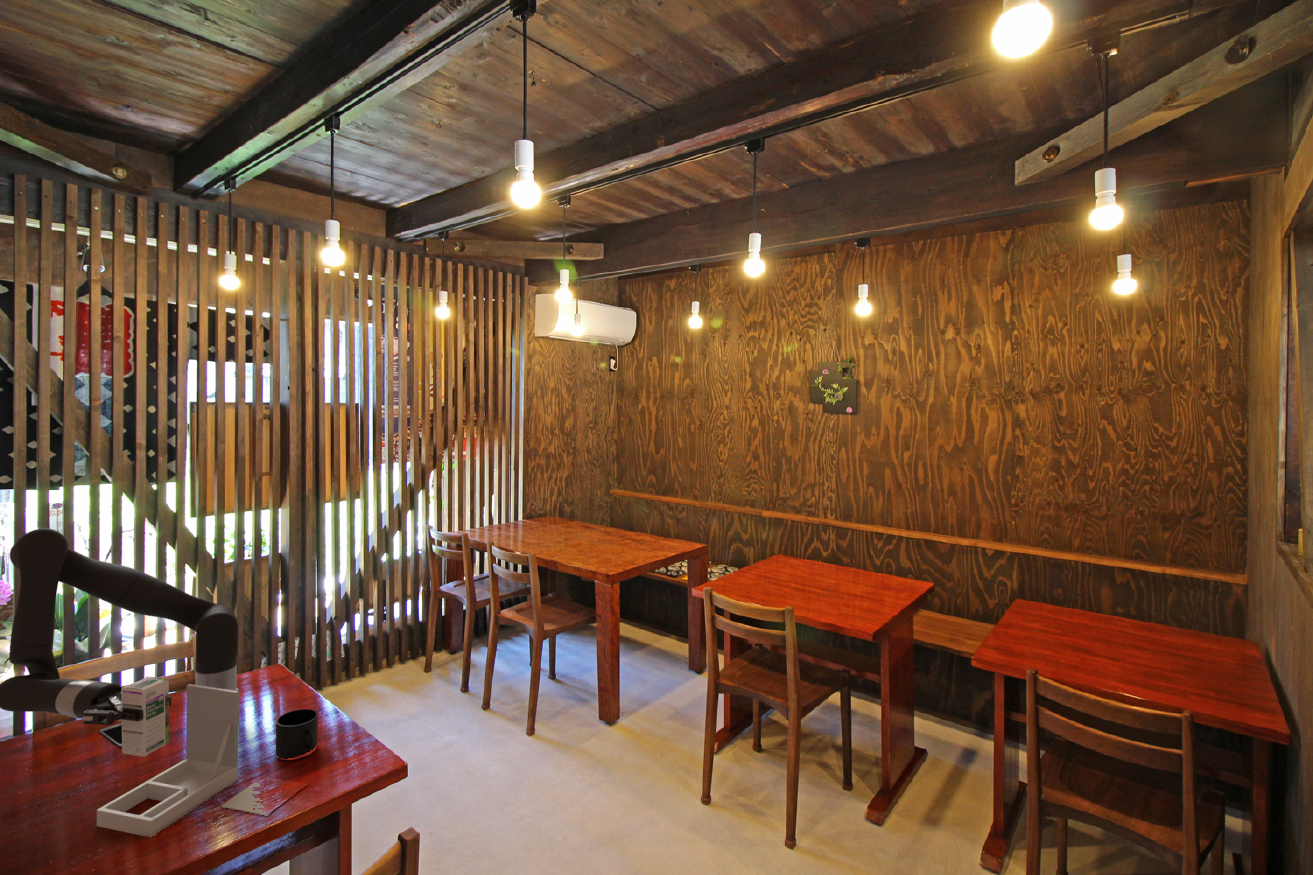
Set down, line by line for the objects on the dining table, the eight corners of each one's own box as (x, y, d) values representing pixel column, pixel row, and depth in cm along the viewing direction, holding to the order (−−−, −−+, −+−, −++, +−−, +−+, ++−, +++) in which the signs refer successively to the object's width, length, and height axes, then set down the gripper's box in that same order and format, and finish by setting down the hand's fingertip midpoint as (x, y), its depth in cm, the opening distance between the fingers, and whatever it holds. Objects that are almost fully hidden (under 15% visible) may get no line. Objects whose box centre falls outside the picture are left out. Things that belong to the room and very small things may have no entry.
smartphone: (130, 721, 174) (130, 718, 174) (155, 737, 167) (155, 734, 167) (96, 733, 168) (96, 729, 168) (120, 750, 160) (120, 746, 160)
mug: (293, 769, 154) (294, 733, 154) (268, 753, 161) (268, 719, 160) (330, 752, 162) (331, 718, 162) (305, 738, 169) (305, 705, 168)
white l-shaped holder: (189, 770, 152) (189, 683, 151) (238, 779, 149) (238, 691, 148) (96, 825, 132) (96, 725, 131) (151, 837, 129) (151, 734, 128)
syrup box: (144, 757, 132) (144, 689, 131) (120, 753, 133) (120, 686, 132) (169, 743, 137) (170, 678, 137) (146, 739, 138) (147, 675, 138)
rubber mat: (264, 776, 151) (264, 775, 151) (308, 784, 148) (308, 783, 148) (220, 807, 139) (220, 805, 139) (267, 816, 137) (267, 814, 136)
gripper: (53, 697, 130) (122, 706, 127) (123, 669, 144) (186, 677, 141) (53, 732, 130) (122, 743, 127) (122, 701, 144) (186, 710, 141)
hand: (155, 708), depth 134 cm, fingers closed on syrup box, 5 cm apart
